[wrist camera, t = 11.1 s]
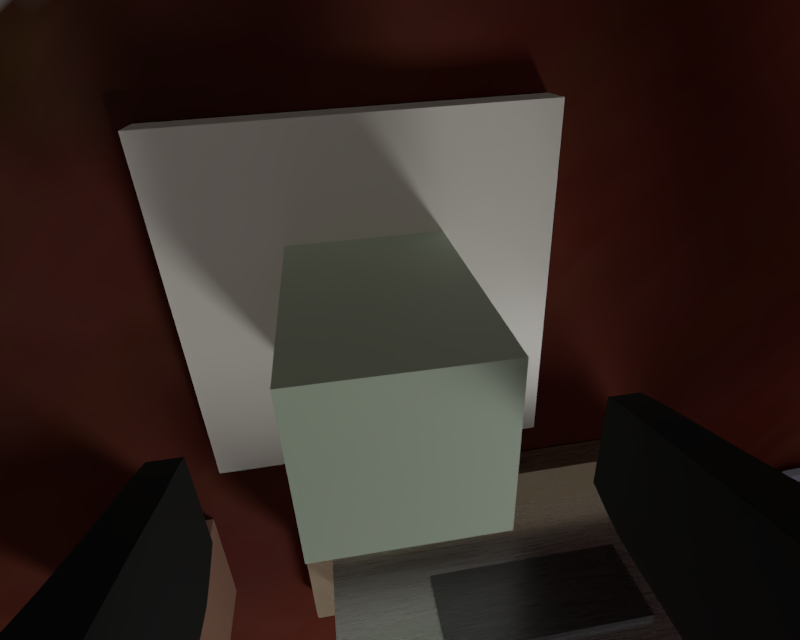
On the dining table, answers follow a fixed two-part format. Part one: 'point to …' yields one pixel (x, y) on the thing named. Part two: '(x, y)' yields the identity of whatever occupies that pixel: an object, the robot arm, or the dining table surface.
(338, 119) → the pad
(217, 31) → the dining table surface
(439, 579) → the grey unit
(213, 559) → the terracotta block
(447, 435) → the sage block
